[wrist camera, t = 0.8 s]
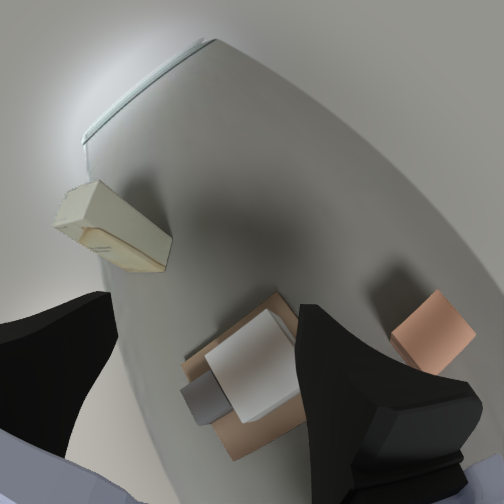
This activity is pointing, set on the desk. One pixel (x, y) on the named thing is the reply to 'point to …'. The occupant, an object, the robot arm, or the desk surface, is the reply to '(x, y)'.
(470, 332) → the terracotta block
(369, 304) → the desk surface
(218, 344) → the plate
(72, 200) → the skincare box
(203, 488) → the desk surface
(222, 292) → the desk surface
